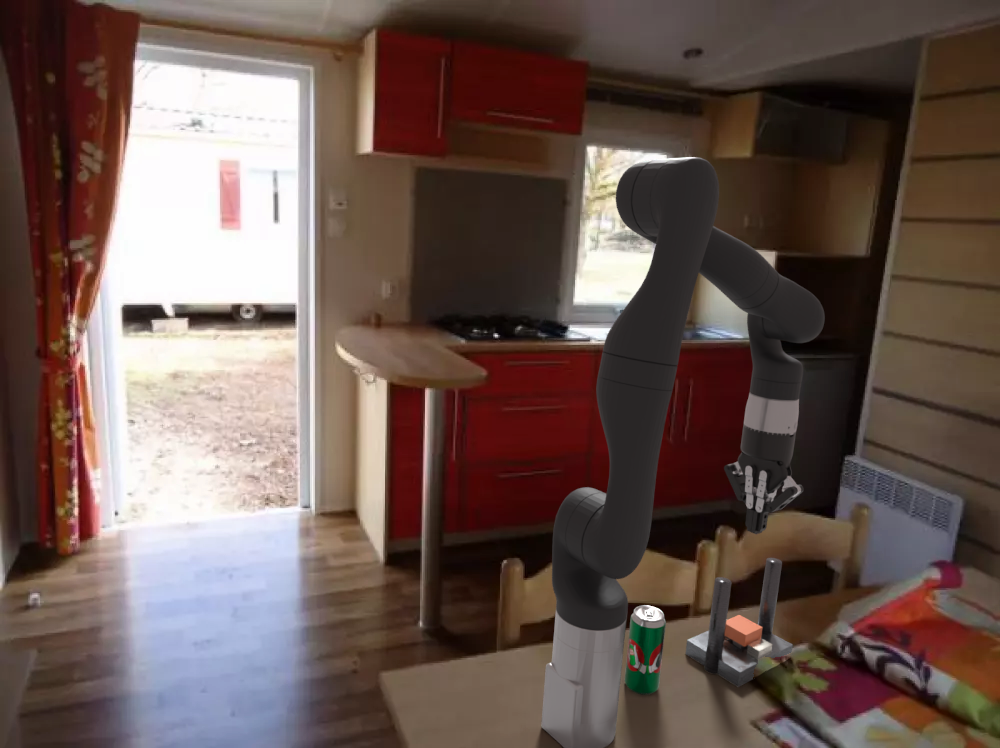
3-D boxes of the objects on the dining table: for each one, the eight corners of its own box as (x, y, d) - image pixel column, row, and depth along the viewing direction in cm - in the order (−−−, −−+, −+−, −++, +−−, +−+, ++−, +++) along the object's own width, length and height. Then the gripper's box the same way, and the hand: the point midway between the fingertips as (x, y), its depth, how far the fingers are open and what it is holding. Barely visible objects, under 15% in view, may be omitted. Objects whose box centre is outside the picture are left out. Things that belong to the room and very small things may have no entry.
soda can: (656, 677, 108) (664, 605, 106) (660, 698, 104) (668, 623, 101) (623, 674, 109) (630, 602, 107) (625, 695, 104) (632, 620, 102)
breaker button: (742, 661, 112) (745, 635, 111) (719, 647, 116) (722, 622, 115) (759, 652, 115) (762, 627, 114) (735, 639, 118) (739, 614, 117)
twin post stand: (734, 689, 107) (746, 597, 104) (681, 655, 115) (691, 569, 112) (793, 656, 116) (806, 571, 113) (741, 628, 124) (752, 547, 121)
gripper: (718, 416, 111) (705, 521, 114) (796, 439, 100) (779, 553, 104) (747, 412, 115) (733, 513, 118) (824, 433, 105) (807, 543, 108)
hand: (755, 531), depth 111 cm, fingers closed
